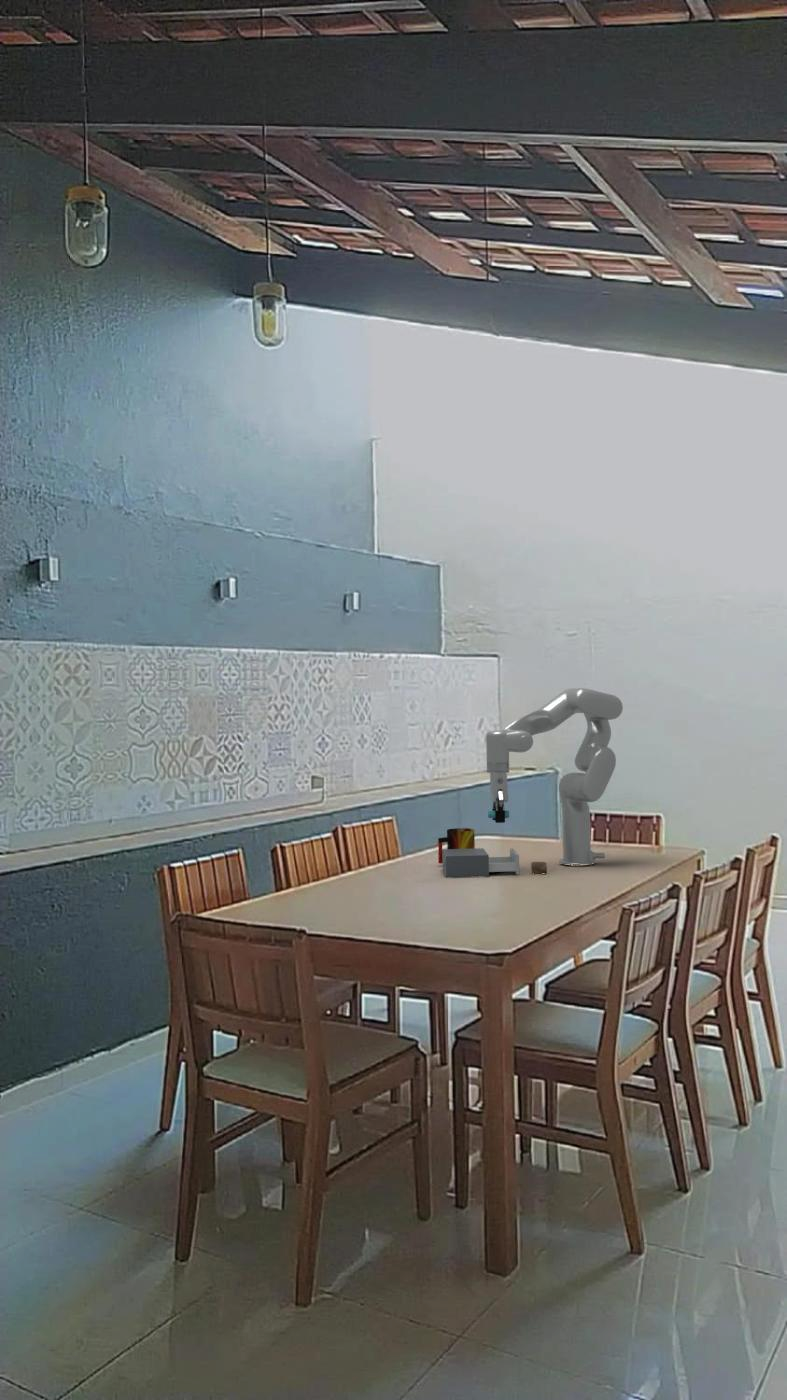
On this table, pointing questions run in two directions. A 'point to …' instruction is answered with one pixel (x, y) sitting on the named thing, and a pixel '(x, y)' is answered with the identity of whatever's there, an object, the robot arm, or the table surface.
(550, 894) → the table surface
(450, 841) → the mug
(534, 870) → the brown short rounded cylinder
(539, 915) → the table surface
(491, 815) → the disc
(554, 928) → the table surface
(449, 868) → the housing
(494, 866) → the grey drawer
